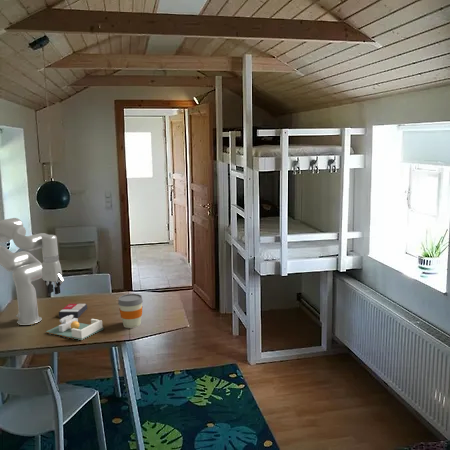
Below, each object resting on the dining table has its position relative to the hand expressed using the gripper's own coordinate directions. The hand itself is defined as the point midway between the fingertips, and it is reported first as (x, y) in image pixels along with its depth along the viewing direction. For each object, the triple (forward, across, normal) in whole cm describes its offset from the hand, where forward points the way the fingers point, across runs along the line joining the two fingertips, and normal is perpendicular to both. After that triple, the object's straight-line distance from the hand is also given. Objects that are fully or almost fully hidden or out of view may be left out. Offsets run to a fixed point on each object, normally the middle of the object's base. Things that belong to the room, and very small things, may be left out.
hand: (54, 292), depth 250 cm
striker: (+18, +7, 0) cm, 19 cm away
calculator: (+20, -8, +20) cm, 30 cm away
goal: (+18, +21, 0) cm, 28 cm away
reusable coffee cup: (+20, +34, +19) cm, 44 cm away
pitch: (+19, +12, 0) cm, 23 cm away
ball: (+16, +12, 0) cm, 20 cm away
